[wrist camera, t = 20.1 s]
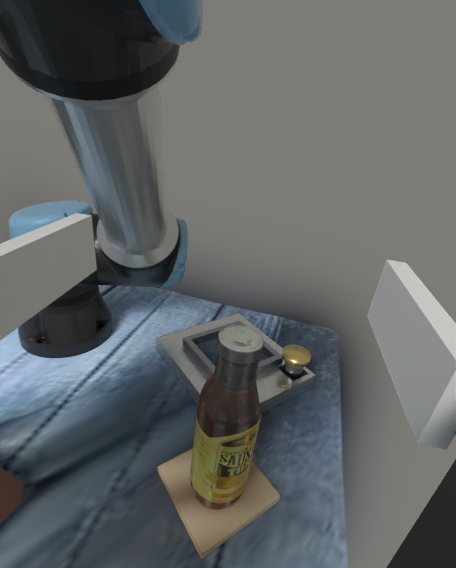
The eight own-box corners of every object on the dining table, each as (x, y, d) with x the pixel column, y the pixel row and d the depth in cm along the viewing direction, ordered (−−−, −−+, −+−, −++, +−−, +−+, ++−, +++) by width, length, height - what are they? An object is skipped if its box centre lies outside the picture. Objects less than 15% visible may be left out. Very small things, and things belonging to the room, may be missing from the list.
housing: (156, 348, 58) (156, 330, 56) (237, 323, 67) (239, 307, 66) (220, 435, 43) (222, 414, 41) (312, 387, 53) (317, 367, 51)
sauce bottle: (216, 527, 32) (238, 377, 23) (177, 481, 36) (183, 335, 27) (258, 483, 37) (291, 342, 28) (220, 445, 40) (237, 310, 31)
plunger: (272, 370, 53) (277, 349, 51) (291, 362, 55) (296, 341, 53) (291, 388, 50) (297, 366, 48) (311, 378, 52) (317, 357, 50)
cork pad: (157, 472, 38) (157, 466, 37) (228, 434, 43) (228, 429, 43) (201, 559, 31) (202, 554, 30) (278, 501, 36) (280, 496, 36)
